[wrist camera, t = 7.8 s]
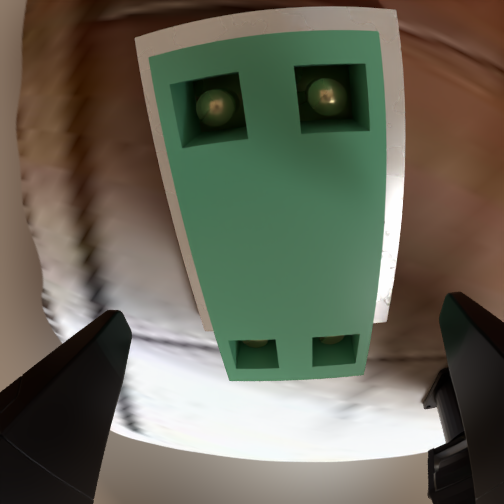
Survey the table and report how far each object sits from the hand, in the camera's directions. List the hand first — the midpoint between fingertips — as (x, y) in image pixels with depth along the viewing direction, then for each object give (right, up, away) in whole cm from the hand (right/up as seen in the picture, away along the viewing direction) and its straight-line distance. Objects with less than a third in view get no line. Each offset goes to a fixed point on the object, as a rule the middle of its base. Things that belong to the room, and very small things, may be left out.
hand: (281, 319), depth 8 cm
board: (+1, +3, +5) cm, 6 cm away
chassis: (+1, +5, +8) cm, 10 cm away
